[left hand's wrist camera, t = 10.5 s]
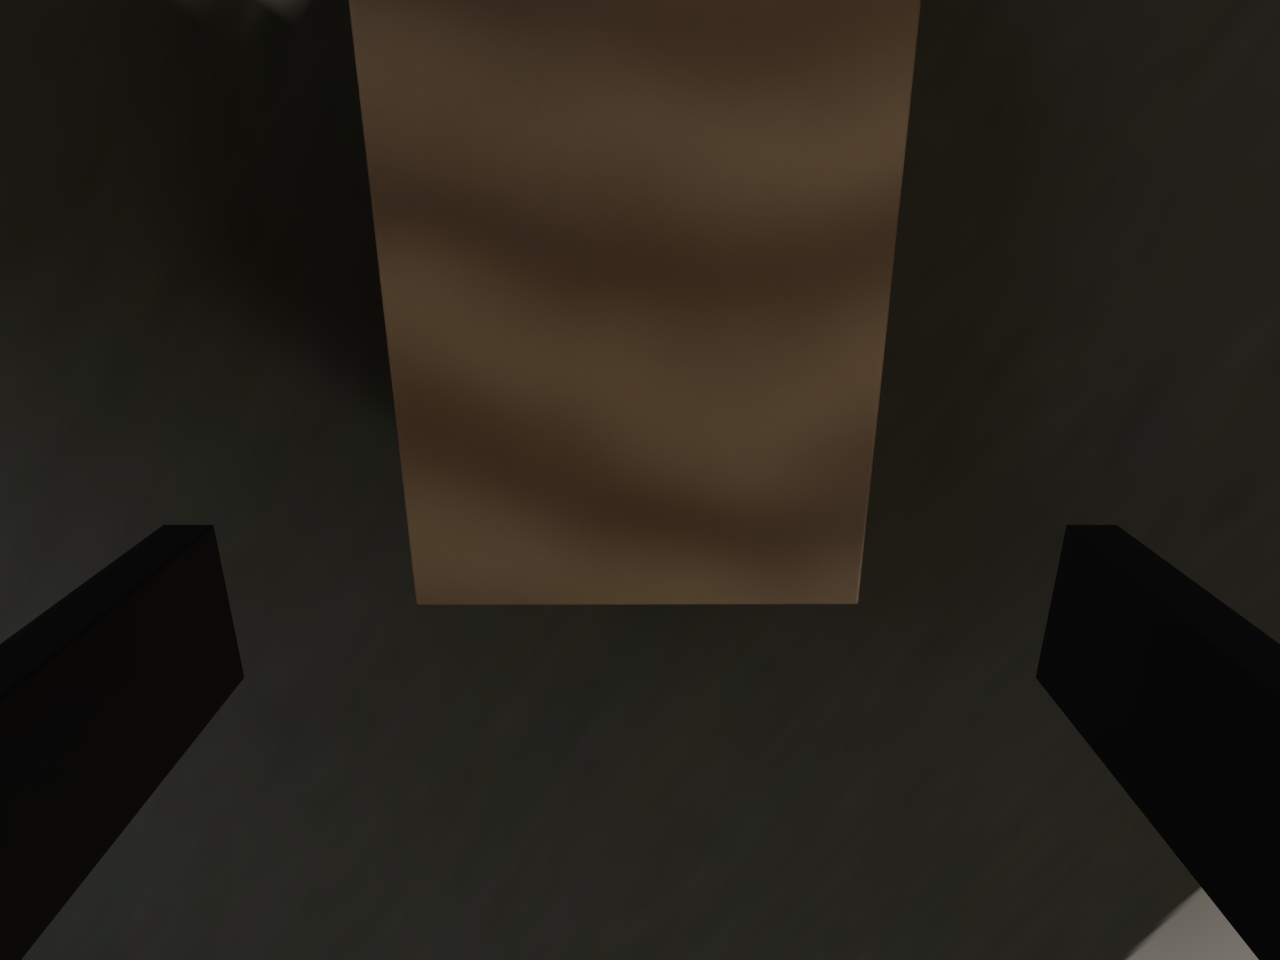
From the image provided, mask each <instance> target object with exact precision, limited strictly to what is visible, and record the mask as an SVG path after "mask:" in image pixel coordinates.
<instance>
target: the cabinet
mask: <svg viewBox="0 0 1280 960" xmlns="http://www.w3.org/2000/svg"><path fill="white" fill-rule="evenodd" d="M920 7H921V0H349V9H350V18H351V27H352V36H353V45H354V54H355V62H356V71H357V80H358V89H359V98H360V107H361V116H362V125H363V134H364V142H365V151H366V160H367V169H368V178H369V187H370V196H371V205H372V214H373V222H374V231H375V240H376V249H377V258H378V267H379V276H380V285H381V293H382V302H383V311H384V320H385V329H386V338H387V347H388V356H389V365H390V373H391V382H392V391H393V400H394V409H395V418H396V427H397V436H398V445H399V453H400V462H401V471H402V480H403V489H404V498H405V507H406V516H407V525H408V533H409V542H410V551H411V560H412V569H413V578H414V587H415V596H416V603H417V605H654V604H857V603H858V600H859V591H860V581H861V572H862V562H863V552H864V543H865V533H866V524H867V514H868V505H869V495H870V485H871V476H872V466H873V457H874V447H875V438H876V428H877V418H878V409H879V399H880V390H881V380H882V371H883V361H884V351H885V342H886V332H887V323H888V313H889V304H890V294H891V284H892V275H893V265H894V256H895V246H896V237H897V227H898V217H899V208H900V198H901V189H902V179H903V170H904V160H905V150H906V141H907V131H908V122H909V112H910V103H911V93H912V83H913V74H914V64H915V55H916V45H917V36H918V26H919V16H920Z"/></svg>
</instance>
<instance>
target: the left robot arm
mask: <svg viewBox="0 0 1280 960" xmlns="http://www.w3.org/2000/svg"><path fill="white" fill-rule="evenodd" d="M243 678H244V674H243V669H242V664H241V659H240V654H239V649H238V645H237V640H236V635H235V630H234V625H233V620H232V615H231V610H230V605H229V600H228V595H227V590H226V585H225V580H224V576H223V571H222V566H221V561H220V556H219V551H218V546H217V541H216V536H215V531H214V526H213V525H163V526H161V527H160V528H159V529H157V530H156V531H155V532H153V533H152V534H151V535H149V536H148V537H146V538H145V539H144V540H142V541H141V542H140V543H138V544H137V545H135V546H134V547H133V548H131V549H130V550H129V551H127V552H126V553H125V554H123V555H122V556H120V557H119V558H118V559H116V560H115V561H114V562H112V563H111V564H109V565H108V566H107V567H105V568H104V569H103V570H101V571H100V572H99V573H97V574H96V575H94V576H93V577H92V578H90V579H89V580H88V581H86V582H85V583H83V584H82V585H81V586H79V587H78V588H77V589H75V590H74V591H73V592H71V593H70V594H68V595H67V596H66V597H64V598H63V599H62V600H60V601H59V602H57V603H56V604H55V605H53V606H52V607H51V608H49V609H48V610H47V611H45V612H44V613H42V614H41V615H40V616H38V617H37V618H36V619H34V620H33V621H31V622H30V623H29V624H27V625H26V626H25V627H23V628H22V629H21V630H19V631H18V632H16V633H15V634H14V635H12V636H11V637H10V638H8V639H7V640H5V641H4V642H3V643H1V644H0V960H21V959H22V958H23V957H24V955H25V954H26V953H27V951H28V950H29V949H30V948H31V946H32V945H33V944H34V943H35V941H36V940H37V939H38V938H39V936H40V935H41V934H42V933H43V931H44V930H45V929H46V927H47V926H48V925H49V924H50V922H51V921H52V920H53V919H54V917H55V916H56V915H57V914H58V912H59V911H60V910H61V908H62V907H63V906H64V905H65V903H66V902H67V901H68V900H69V898H70V897H71V896H72V895H73V893H74V892H75V891H76V890H77V888H78V887H79V886H80V884H81V883H82V882H83V881H84V879H85V878H86V877H87V876H88V874H89V873H90V872H91V871H92V869H93V868H94V867H95V865H96V864H97V863H98V862H99V860H100V859H101V858H102V857H103V855H104V854H105V853H106V852H107V850H108V849H109V848H110V847H111V845H112V844H113V843H114V841H115V840H116V839H117V838H118V836H119V835H120V834H121V833H122V831H123V830H124V829H125V828H126V826H127V825H128V824H129V822H130V821H131V820H132V819H133V817H134V816H135V815H136V814H137V812H138V811H139V810H140V809H141V807H142V806H143V805H144V804H145V802H146V801H147V800H148V798H149V797H150V796H151V795H152V793H153V792H154V791H155V790H156V788H157V787H158V786H159V785H160V783H161V782H162V781H163V779H164V778H165V777H166V776H167V774H168V773H169V772H170V771H171V769H172V768H173V767H174V766H175V764H176V763H177V762H178V761H179V759H180V758H181V757H182V755H183V754H184V753H185V752H186V750H187V749H188V748H189V747H190V745H191V744H192V743H193V742H194V740H195V739H196V738H197V736H198V735H199V734H200V733H201V731H202V730H203V729H204V728H205V726H206V725H207V724H208V723H209V721H210V720H211V719H212V717H213V716H214V715H215V714H216V712H217V711H218V710H219V709H220V707H221V706H222V705H223V704H224V702H225V701H226V700H227V699H228V697H229V696H230V695H231V693H232V692H233V691H234V690H235V688H236V687H237V686H238V685H239V683H240V682H241V681H242V680H243ZM1036 678H1037V680H1038V681H1039V682H1040V683H1041V685H1042V686H1043V687H1044V688H1045V690H1046V691H1047V692H1048V693H1049V695H1050V696H1051V697H1052V699H1053V700H1054V701H1055V702H1056V704H1057V705H1058V706H1059V707H1060V709H1061V710H1062V711H1063V712H1064V714H1065V715H1066V716H1067V717H1068V719H1069V720H1070V721H1071V723H1072V724H1073V725H1074V726H1075V728H1076V729H1077V730H1078V731H1079V733H1080V734H1081V735H1082V736H1083V738H1084V739H1085V740H1086V742H1087V743H1088V744H1089V745H1090V747H1091V748H1092V749H1093V750H1094V752H1095V753H1096V754H1097V755H1098V757H1099V758H1100V759H1101V761H1102V762H1103V763H1104V764H1105V766H1106V767H1107V768H1108V769H1109V771H1110V772H1111V773H1112V774H1113V776H1114V777H1115V778H1116V779H1117V781H1118V782H1119V783H1120V785H1121V786H1122V787H1123V788H1124V790H1125V791H1126V792H1127V793H1128V795H1129V796H1130V797H1131V798H1132V800H1133V801H1134V802H1135V804H1136V805H1137V806H1138V807H1139V809H1140V810H1141V811H1142V812H1143V814H1144V815H1145V816H1146V817H1147V819H1148V820H1149V821H1150V822H1151V824H1152V825H1153V826H1154V828H1155V829H1156V830H1157V831H1158V833H1159V834H1160V835H1161V836H1162V838H1163V839H1164V840H1165V841H1166V843H1167V844H1168V845H1169V847H1170V848H1171V849H1172V850H1173V852H1174V853H1175V854H1176V855H1177V857H1178V858H1179V859H1180V860H1181V862H1182V863H1183V864H1184V865H1185V867H1186V868H1187V869H1188V871H1189V872H1190V873H1191V874H1192V876H1193V877H1194V878H1195V879H1196V881H1197V882H1198V883H1199V884H1200V886H1201V887H1202V888H1203V890H1204V891H1205V892H1206V893H1207V895H1208V896H1209V897H1210V898H1211V900H1212V901H1213V902H1214V903H1215V905H1216V906H1217V907H1218V908H1219V910H1220V911H1221V912H1222V914H1223V915H1224V916H1225V917H1226V919H1227V920H1228V921H1229V922H1230V924H1231V925H1232V926H1233V927H1234V929H1235V930H1236V931H1237V932H1238V934H1239V935H1240V936H1241V938H1242V939H1243V940H1244V941H1245V943H1246V944H1247V945H1248V946H1249V948H1250V949H1251V950H1252V951H1253V953H1254V954H1255V955H1256V956H1257V958H1258V959H1259V960H1280V644H1279V643H1277V642H1276V641H1275V640H1273V639H1272V638H1270V637H1269V636H1268V635H1266V634H1265V633H1264V632H1262V631H1261V630H1259V629H1258V628H1257V627H1255V626H1254V625H1253V624H1251V623H1250V622H1249V621H1247V620H1246V619H1244V618H1243V617H1242V616H1240V615H1239V614H1238V613H1236V612H1235V611H1233V610H1232V609H1231V608H1229V607H1228V606H1227V605H1225V604H1224V603H1223V602H1221V601H1220V600H1218V599H1217V598H1216V597H1214V596H1213V595H1212V594H1210V593H1209V592H1207V591H1206V590H1205V589H1203V588H1202V587H1201V586H1199V585H1198V584H1197V583H1195V582H1194V581H1192V580H1191V579H1190V578H1188V577H1187V576H1186V575H1184V574H1183V573H1181V572H1180V571H1179V570H1177V569H1176V568H1175V567H1173V566H1172V565H1171V564H1169V563H1168V562H1166V561H1165V560H1164V559H1162V558H1161V557H1160V556H1158V555H1157V554H1155V553H1154V552H1153V551H1151V550H1150V549H1149V548H1147V547H1146V546H1145V545H1143V544H1142V543H1140V542H1139V541H1138V540H1136V539H1135V538H1134V537H1132V536H1131V535H1129V534H1128V533H1127V532H1125V531H1124V530H1123V529H1121V528H1120V527H1119V526H1117V525H1067V526H1066V531H1065V536H1064V541H1063V546H1062V551H1061V556H1060V561H1059V566H1058V571H1057V575H1056V580H1055V585H1054V590H1053V595H1052V600H1051V605H1050V610H1049V615H1048V620H1047V625H1046V630H1045V635H1044V640H1043V645H1042V649H1041V654H1040V659H1039V664H1038V669H1037V674H1036Z"/></svg>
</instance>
